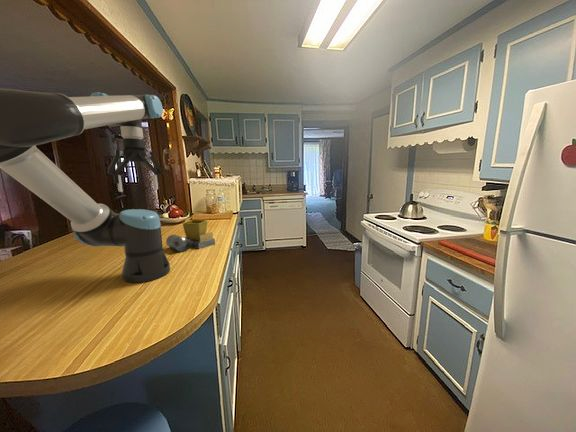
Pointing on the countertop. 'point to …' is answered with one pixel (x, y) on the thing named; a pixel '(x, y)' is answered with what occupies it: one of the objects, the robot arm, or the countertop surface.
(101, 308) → the countertop surface
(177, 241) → the motor block
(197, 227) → the flower pot
